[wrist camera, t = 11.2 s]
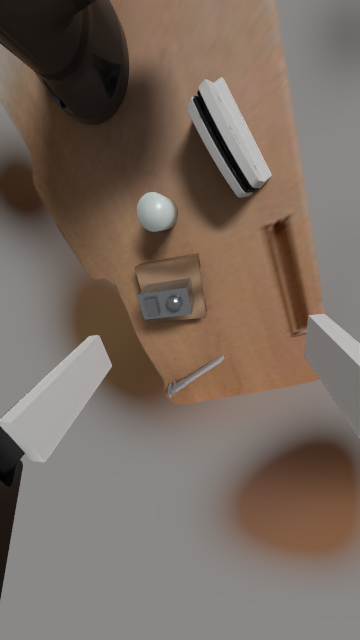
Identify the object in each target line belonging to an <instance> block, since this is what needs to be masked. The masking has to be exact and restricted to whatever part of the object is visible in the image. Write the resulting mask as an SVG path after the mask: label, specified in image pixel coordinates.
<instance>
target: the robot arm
mask: <svg viewBox="0 0 360 640" xmlns="http://www.w3.org/2000/svg"><path fill="white" fill-rule="evenodd" d="M0 44H2V45H3V46H4V47H5V48H7V49H8V50H9V51H10V52H11V53H13V54H14V55H15V56H16V57H18V58H19V59H20V60H21V61H23V62H24V63H25V64H26V65H27V66H29V67H30V68H31V69H32V70H34V72H35V73H36V75H37V76H38V78H39V79H40V81H41V82H42V84H43V85H44V87H45V88H46V90H47V91H48V93H49V94H50V96H51V97H52V98H53V100H54V101H55V102H56V103H57V104H58V105H59V106H60V107H61V108H62V109H63V110H64V111H65V112H66V113H68V114H69V115H71V116H72V117H73V118H75V119H76V120H78V121H80V122H83V123H86V124H99V123H102V122H104V121H106V120H107V119H109V118H110V117H111V116H112V115H113V114H114V113H115V112H116V111H117V109H118V108H119V106H120V104H121V102H122V100H123V98H124V95H125V91H126V88H127V83H128V75H129V57H128V48H127V43H126V39H125V35H124V32H123V29H122V26H121V23H120V21H119V19H118V17H117V15H116V12H115V10H114V8H113V6H112V4H111V2H110V0H0ZM304 356H305V358H306V359H307V361H308V362H309V364H310V365H311V367H312V368H313V370H314V371H315V373H316V374H317V376H318V377H319V379H320V380H321V382H322V383H323V385H324V386H325V388H326V389H327V391H328V392H329V393H330V395H331V396H332V398H333V399H334V401H335V402H336V404H337V405H338V407H339V408H340V410H341V411H342V413H343V414H344V416H345V417H346V419H347V420H348V422H349V423H350V425H351V426H352V428H353V429H354V431H355V432H356V434H357V435H358V437H359V438H360V343H358V342H357V341H356V340H355V339H354V338H352V337H351V336H350V335H349V334H347V332H345V331H344V330H343V329H342V328H341V327H339V326H338V325H337V324H336V323H334V322H333V321H332V320H331V319H330V318H328V317H327V316H326V315H325V314H318V315H309V316H308V325H307V335H306V344H305V353H304ZM111 367H112V365H111V362H110V360H109V358H108V355H107V353H106V351H105V348H104V346H103V344H102V341H101V339H100V337H99V335H96V336H89V337H88V338H87V339H86V340H85V341H84V342H82V343H81V344H80V345H79V346H78V347H77V348H76V349H75V350H74V351H73V352H72V353H71V354H70V355H69V356H68V357H66V358H65V359H64V360H63V361H62V362H61V363H60V364H59V365H58V366H57V367H56V368H55V369H53V370H52V371H51V372H50V373H49V374H48V375H47V376H46V377H45V378H44V379H43V380H42V381H40V382H39V383H38V384H37V385H36V386H35V387H33V389H31V390H30V391H29V392H28V393H27V394H26V395H25V396H24V397H23V398H22V399H21V400H20V401H19V402H17V403H16V404H15V405H14V406H13V407H12V408H11V409H10V410H9V411H8V412H7V413H5V414H4V415H3V416H2V417H1V418H0V598H1V592H2V586H3V580H4V574H5V569H6V563H7V557H8V551H9V544H10V539H11V533H12V527H13V521H14V515H15V509H16V503H17V498H18V492H19V486H20V480H21V473H22V468H23V464H22V461H20V459H21V458H22V456H23V455H24V454H26V455H27V457H28V458H29V459H30V460H31V461H36V462H46V460H47V459H48V457H49V456H50V454H51V453H52V452H53V450H54V449H55V447H56V446H57V444H58V443H59V442H60V440H61V439H62V437H63V436H64V434H65V433H66V432H67V430H68V429H69V427H70V426H71V424H72V423H73V422H74V420H75V419H76V417H77V416H78V414H79V413H80V411H81V410H82V409H83V407H84V406H85V404H86V403H87V401H88V400H89V399H90V397H91V396H92V394H93V393H94V391H95V390H96V388H97V387H98V386H99V384H100V383H101V381H102V380H103V378H104V377H105V375H106V374H107V373H108V371H109V370H110V368H111Z"/></svg>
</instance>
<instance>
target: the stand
mask: <svg viewBox="0 0 360 640" xmlns="http://www.w3.org/2000/svg"><path fill="white" fill-rule="evenodd" d="M134 268H135V271H136V275H137V278H138V282H139V285H140V289H141V290H142V289H143V288H144V287H145V286H146V285H147V284H153V283H160V282H166V281H173V280H179V279H186V278H191V282H192V288H193V294H194V300H195V302H194V307H193V311H192V315H183V316H173V317H164V318H155V319H149V320H150V323H157V322H166V321H176V320H186V319H195V318H205V317H206V312H207V309H206V302H205V299H204V295H203V288H202V281H201V274H200V260H199V253H198V254H192V255H187V256H181V257H176V258H170V259H164V260H159V261H153V262H147V263H142V264H139V265H137V266H136V267H134Z"/></svg>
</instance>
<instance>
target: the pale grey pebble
mask: <svg viewBox="0 0 360 640" xmlns="http://www.w3.org/2000/svg"><path fill="white" fill-rule="evenodd" d="M137 216H138V219H139V222H140V223H141V225H142V226H143V227H144V228H145V229H147V230H149V231H152V232H157V231H162V230H168V229H170V228H172V227H173V226H174V225H175V223H176V221H177V218H178V210H177V207H176V205H175V203H174V202H173V201H172V200H171V199H169V198H167V197H165V196H163V195H161V194H159V193H156V192H149V193H147V194H145V195H143V196H142V197H141V199H140V200H139V202H138V205H137Z"/></svg>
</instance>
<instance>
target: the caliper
mask: <svg viewBox="0 0 360 640" xmlns="http://www.w3.org/2000/svg"><path fill="white" fill-rule="evenodd" d="M224 358H225V357H224V356H223V355H222V356H221V357H218V358H216V359H214V360H213V361H211V362H210V363H208V364H207V365H205V366H204V367H202V368H201V369H199V370H198V371H196V372H195V373H193V374H192V375H190V376H189V377H187V378H183V379H182V380H180V381H179V382H178V383H177V382H176V381H175V380H174V382H173V387H172V383H171V382H170V383H169V386H168V390H167V394H168V395H169V397H170V398H171V397H172V395H173V396H174V393H175V392H177V391H179V390H180V389H182V388H183V387H185V386H186V385H187V384H188V383H190V382H191V381H193V380H194V379H196V378H197V377H199V376H200V375H202V374H203V373H205V372H207V371H208V370H210V369H211V368H213V367H214V366H216V365H217V364H219V363H220V362H221V361H222V360H223V359H224Z"/></svg>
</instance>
